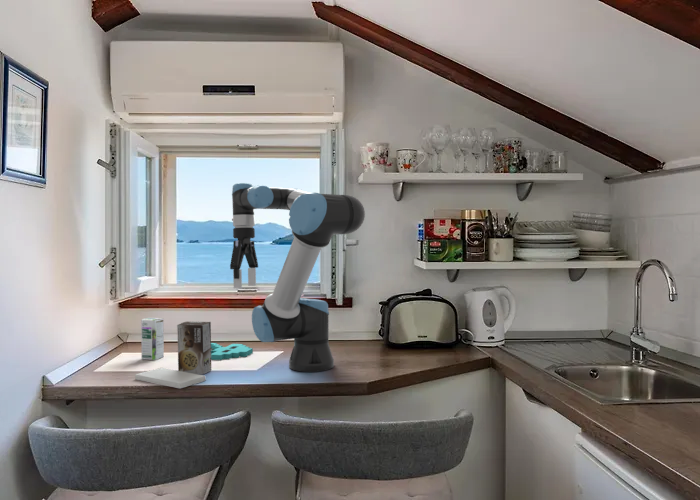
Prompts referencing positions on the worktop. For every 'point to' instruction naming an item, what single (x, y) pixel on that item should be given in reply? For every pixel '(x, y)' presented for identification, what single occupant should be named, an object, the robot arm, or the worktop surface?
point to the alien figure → (229, 351)
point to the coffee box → (194, 347)
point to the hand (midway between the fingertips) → (245, 287)
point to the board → (170, 377)
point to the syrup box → (152, 338)
